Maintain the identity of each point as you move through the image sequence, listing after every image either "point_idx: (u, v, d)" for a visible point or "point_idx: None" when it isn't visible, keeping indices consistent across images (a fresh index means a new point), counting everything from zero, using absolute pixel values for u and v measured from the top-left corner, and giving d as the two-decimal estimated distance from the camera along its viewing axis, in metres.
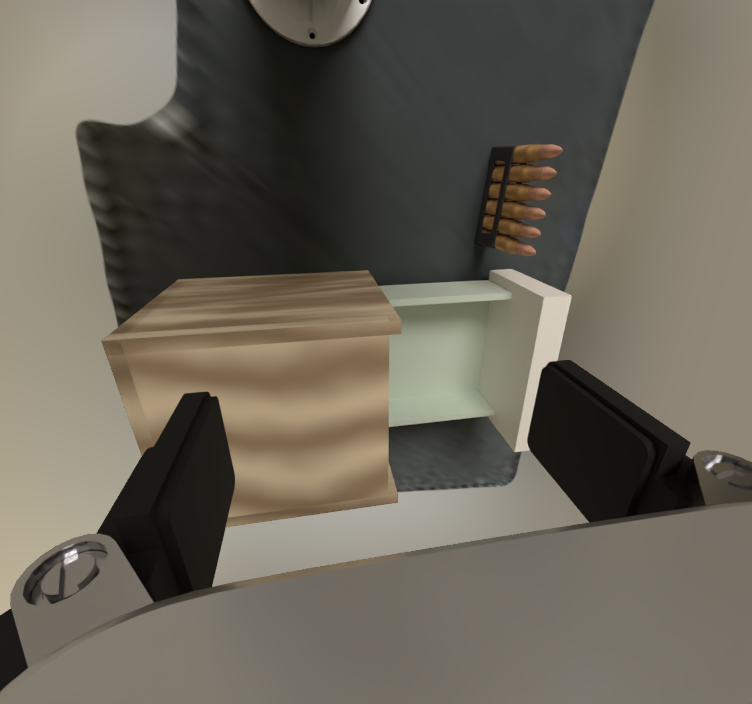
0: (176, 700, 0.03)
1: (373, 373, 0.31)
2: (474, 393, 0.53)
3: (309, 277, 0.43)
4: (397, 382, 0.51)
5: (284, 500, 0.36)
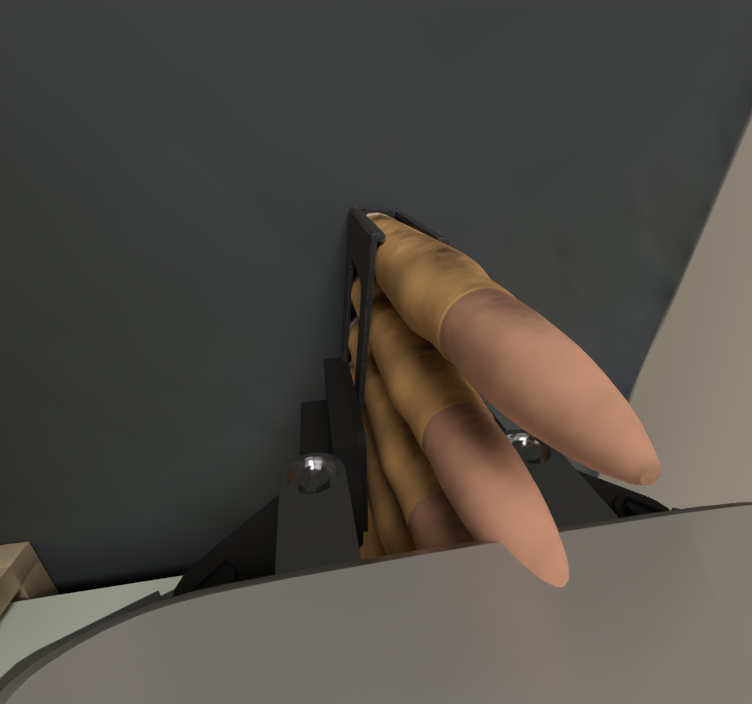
0: (176, 701, 0.03)
1: None
2: None
3: None
4: None
5: None
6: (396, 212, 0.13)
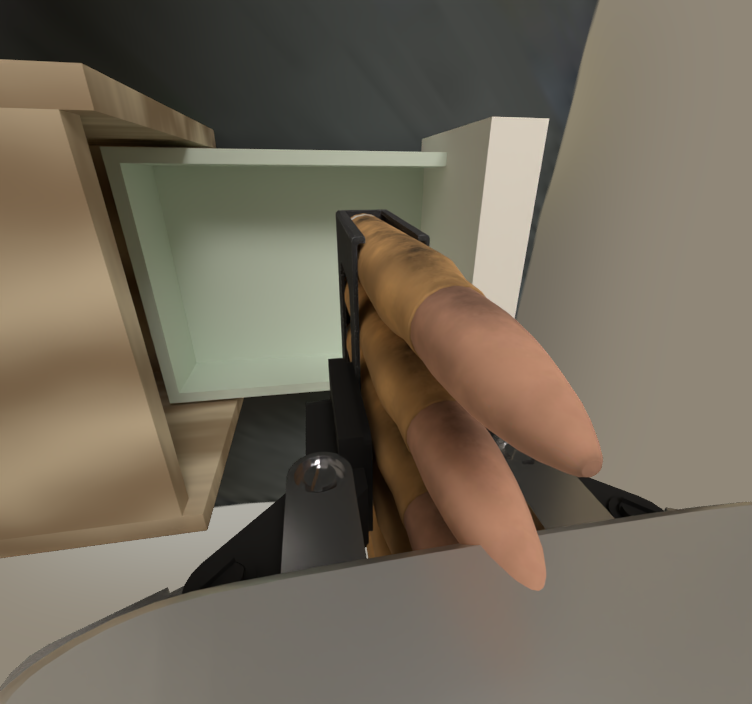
0: (176, 700, 0.03)
1: (50, 226, 0.13)
2: None
3: None
4: (280, 329, 0.32)
5: None
6: (382, 211, 0.13)
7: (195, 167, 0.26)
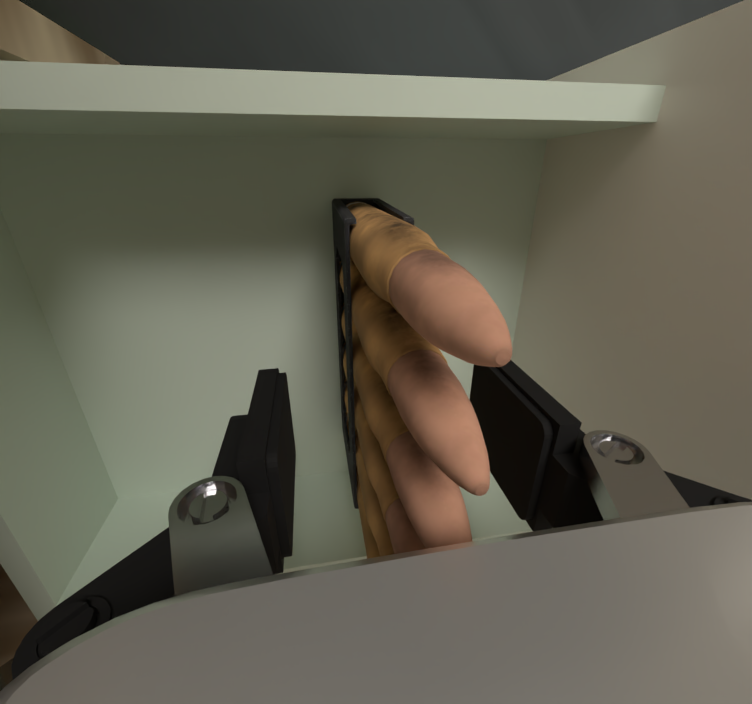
0: (176, 701, 0.03)
1: None
2: None
3: None
4: None
5: None
6: (374, 199, 0.14)
7: (71, 137, 0.12)
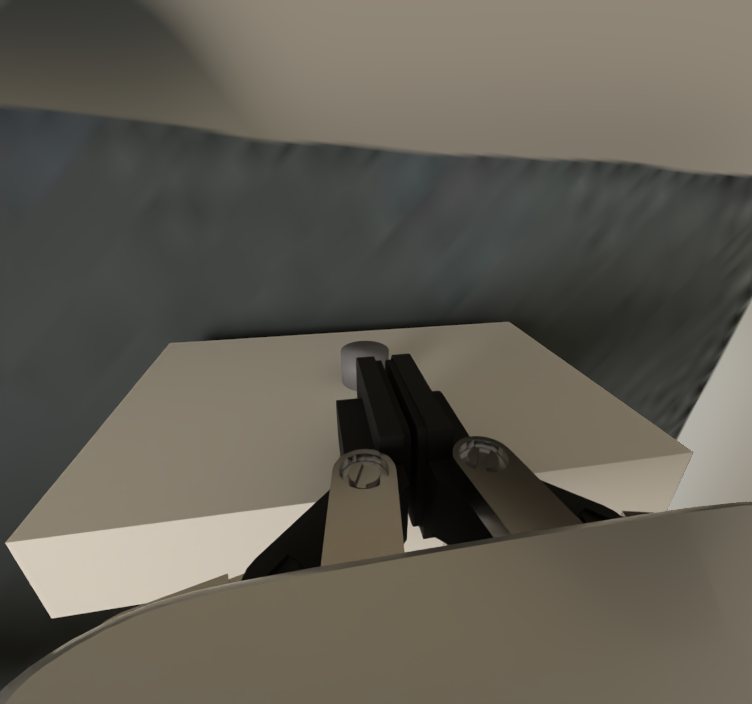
0: (176, 700, 0.03)
1: None
2: None
3: None
4: None
5: None
6: None
7: None
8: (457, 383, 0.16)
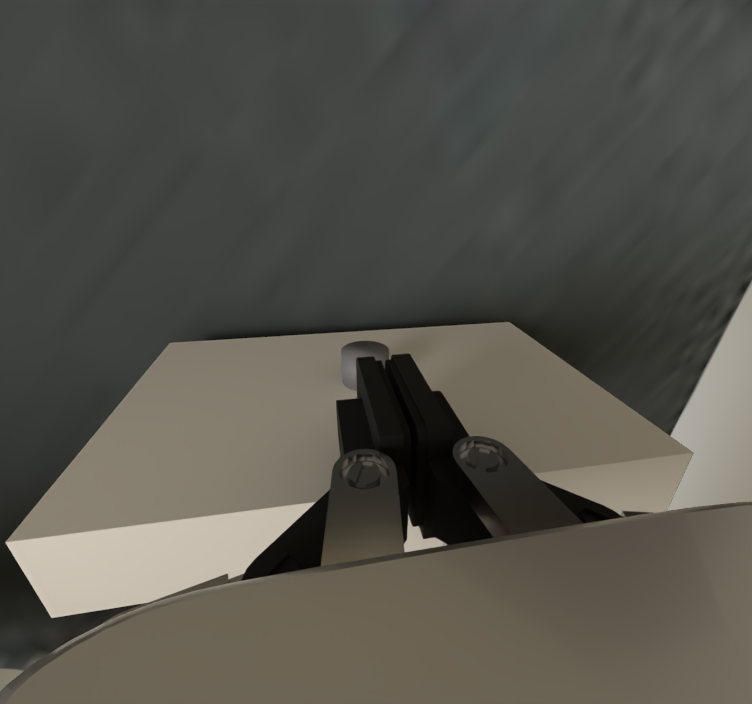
0: (176, 700, 0.03)
1: None
2: None
3: None
4: None
5: None
6: None
7: None
8: (457, 383, 0.16)
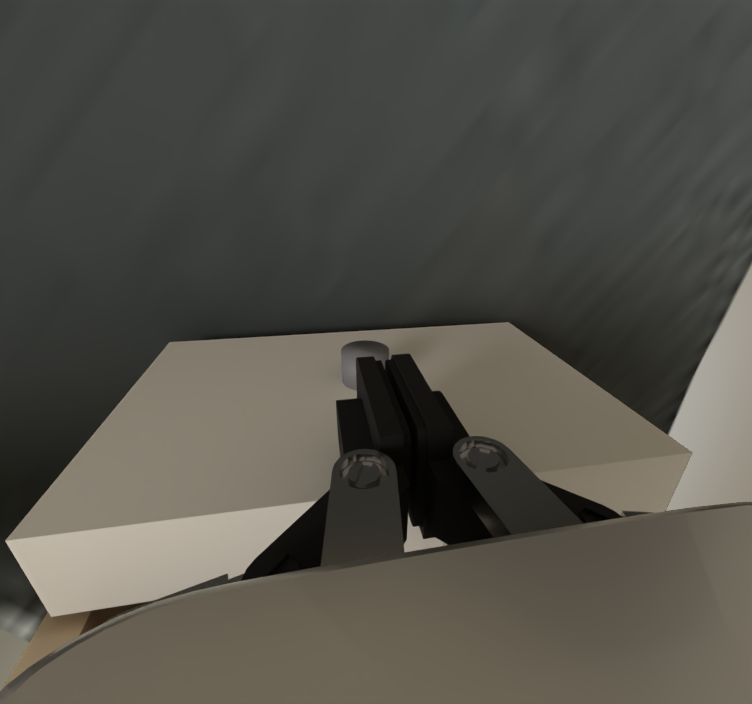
0: (176, 700, 0.03)
1: None
2: None
3: None
4: None
5: None
6: None
7: None
8: (456, 383, 0.16)
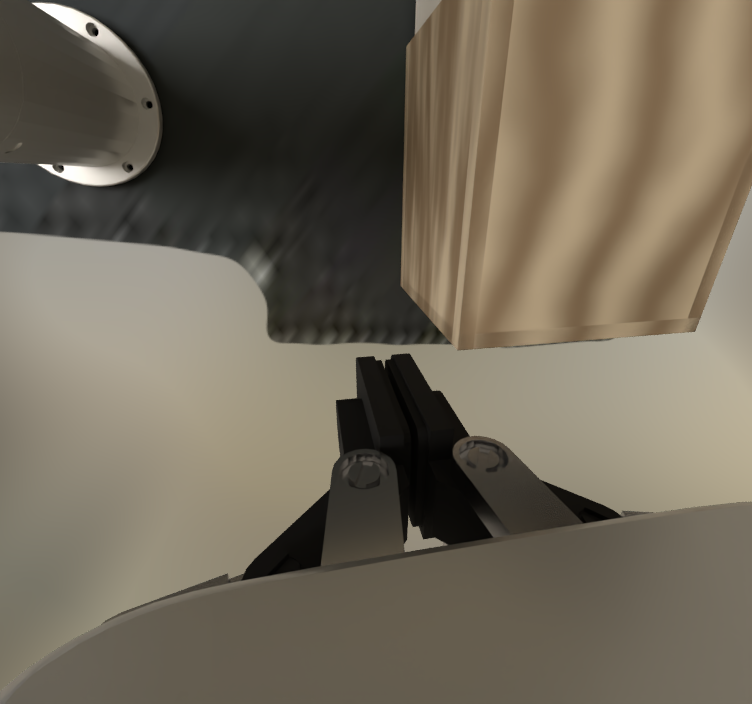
0: (176, 700, 0.03)
1: None
2: None
3: (409, 135, 0.35)
4: None
5: (722, 182, 0.25)
6: None
7: None
8: None
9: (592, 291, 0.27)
